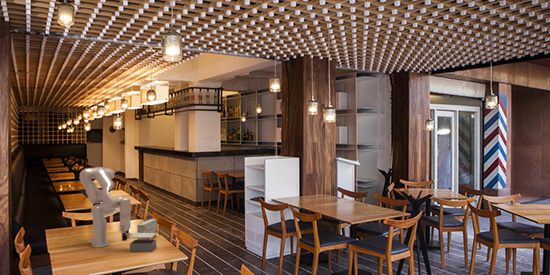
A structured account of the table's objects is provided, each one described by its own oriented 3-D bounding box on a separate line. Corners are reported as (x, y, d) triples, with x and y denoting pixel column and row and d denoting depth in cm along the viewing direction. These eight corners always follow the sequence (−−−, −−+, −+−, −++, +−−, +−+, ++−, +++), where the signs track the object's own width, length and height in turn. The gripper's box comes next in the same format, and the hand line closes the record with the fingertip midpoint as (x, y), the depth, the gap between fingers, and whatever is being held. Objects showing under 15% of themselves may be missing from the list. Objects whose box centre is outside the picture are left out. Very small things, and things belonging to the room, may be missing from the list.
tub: (129, 252, 285) (129, 243, 285) (134, 247, 295) (134, 239, 295) (152, 251, 285) (152, 243, 285) (156, 247, 295) (156, 239, 295)
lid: (120, 239, 285) (120, 235, 285) (125, 235, 295) (125, 231, 295) (151, 240, 285) (151, 235, 285) (156, 235, 295) (156, 231, 295)
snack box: (143, 244, 304) (143, 224, 304) (137, 244, 305) (136, 224, 305) (157, 236, 325) (156, 218, 324) (151, 236, 326) (150, 218, 326)
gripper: (124, 212, 298) (124, 236, 298) (115, 217, 281) (115, 243, 282) (134, 212, 298) (134, 236, 298) (126, 217, 281) (126, 243, 282)
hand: (125, 239), depth 290 cm, fingers closed on lid, 3 cm apart
